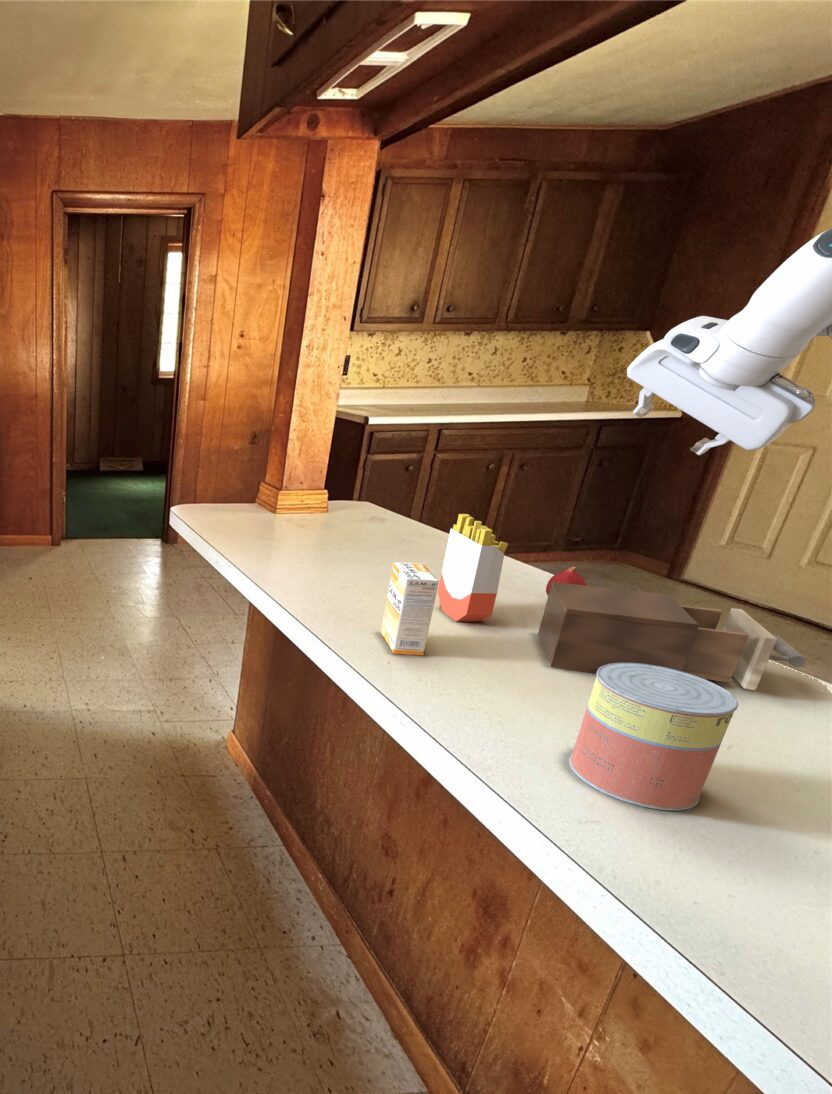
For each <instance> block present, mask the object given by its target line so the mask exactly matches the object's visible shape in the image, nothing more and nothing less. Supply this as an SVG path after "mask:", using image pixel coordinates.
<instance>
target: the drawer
mask: <svg viewBox="0 0 832 1094" xmlns="http://www.w3.org/2000/svg"><path fill="white" fill-rule="evenodd" d="M679 605H680V606H681V607H682V608H683V609H684V610H685V611H686V612H687V613H688V614H689V615H690V616H691V617H692V618H693V619H694V620H695V621H696V622H697V623H698V624H699V626H698V629H697V632H696V634H695V637H694V640H693V642H692V645H691V648H690V651H689V653H688V656H687V659H686V661H685V664H684V667H683V670H682V672H685V673H688V674H691V675H694V676H697V677H700V678H703V679H705V680H708V681H716V682H724V683H731V680H732V679H733V678H734V680H736V682H737V683H739V685H740V686H741V687H742V688H743V689H745V690H752V691H756V690H757V688H758V686H759V683H760V681H761V679H762V676H763V673H764V671H765V669H766V667H767V664H768V662H769V660H770V661H771V660H772V661H779V662H787V663H788V664H789V665H790V666H792V667H793V668H800V667H803V666H805V665H806V664H807V659H806V658H805V656H803V655H802V654H801V653H800V652H799V651H798V650H796V649H795V648H794V647H793V646H792V645H790V644H789V643H788V642H786V641H785V640H784V639H783V638H782V637H781V636H779V635H778V634H777V633H770V631H768V630H767V629H766V628H765V627H764V626H762V625H761V624H760V623H759V622H757V620H755V619H754V618H753V617H751V616H750V615H749V614H748V613H747V612H746V611H745V610H743V608H734V607H731V608H730V610H729V613H728V616H727V617H726V620H725V624H724V626H723V629H717V627H718V624H719V622H720V619H721V617H722V614H723V610H722V609H720V608H719V609H718V608H709V607H700V606H690V605H681V604H679ZM773 651H775V652H776V653H777V654H775V653H774V654H773V653H772V652H773Z"/></svg>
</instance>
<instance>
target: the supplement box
mask: <svg viewBox="0 0 832 1094" xmlns="http://www.w3.org/2000/svg"><path fill="white" fill-rule="evenodd" d="M439 583H440V579H438V578H437V577H436V576H435V575H434V574H433V573H432V571H430V569H428V567H426V565H425V564H424V563H422V562H421V563H420V562H404V561H403V562H399V561H397V562H392V567H391V573H390V578H389V584H388V590H387V595H386V601H385V607H384V611H383V617H382V624H381V629H380V634H381V636H382V637H383V638H384V640H385V641H386V643H387V645H388V646H389V649H390V651H391V652H392V654H394V655H410V656H424V655H425V649H426V645H427V640H428V635H429V630H430V625H431V621H432V616H433V611H434V607H435V602H436V598H437V594H438V588H439Z"/></svg>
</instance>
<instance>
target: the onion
mask: <svg viewBox="0 0 832 1094" xmlns="http://www.w3.org/2000/svg"><path fill="white" fill-rule="evenodd" d="M552 582H557V583H567V584H576V585H585V586H588V583H587V582H586V580H585V579H584V577H583V576H582V575H581V574H580V573H579V572H577V567H576V566H570V567H569V568H567V569H565V570H562V571H560V572H557V573H555V574H554V575H553V576H551V577H550V578H549V580H548V581H547V583H546V586H545V593H546V596H547V597H548V595H549V591H550V588H551V584H552Z"/></svg>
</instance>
